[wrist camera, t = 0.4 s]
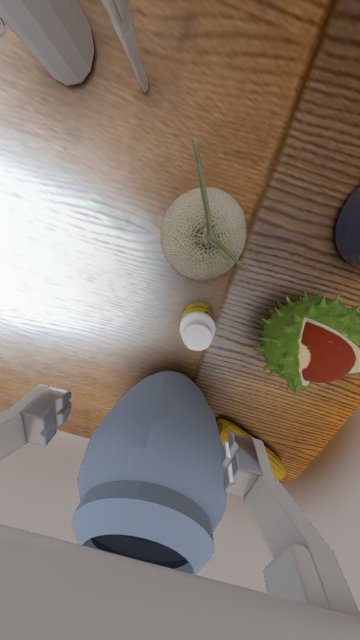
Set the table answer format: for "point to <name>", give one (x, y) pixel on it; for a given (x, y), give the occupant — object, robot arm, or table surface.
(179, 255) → the fruit
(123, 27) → the pen
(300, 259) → the table surface
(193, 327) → the supplement bottle
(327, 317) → the chestnut
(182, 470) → the vase
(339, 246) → the bowl
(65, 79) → the water bottle
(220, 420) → the food
